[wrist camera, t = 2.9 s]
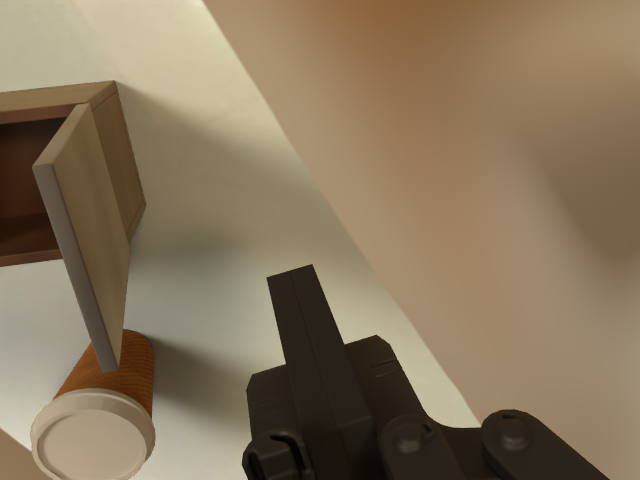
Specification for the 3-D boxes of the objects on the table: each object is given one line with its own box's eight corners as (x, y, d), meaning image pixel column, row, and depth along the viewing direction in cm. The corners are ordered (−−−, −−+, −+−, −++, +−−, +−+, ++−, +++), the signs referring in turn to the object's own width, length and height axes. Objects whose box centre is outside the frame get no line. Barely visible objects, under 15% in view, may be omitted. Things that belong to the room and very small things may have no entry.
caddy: (-4, 224, 45) (-57, 274, 37) (-54, 98, 40) (-126, 125, 32) (146, 205, 46) (126, 250, 38) (115, 80, 41) (84, 102, 33)
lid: (102, 374, 26) (119, 369, 26) (30, 166, 21) (52, 163, 21) (119, 254, 37) (130, 252, 38) (76, 104, 33) (89, 102, 33)
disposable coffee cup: (189, 341, 52) (175, 433, 42) (141, 405, 55) (117, 506, 44) (99, 298, 49) (59, 385, 38) (52, 368, 52) (3, 468, 41)
